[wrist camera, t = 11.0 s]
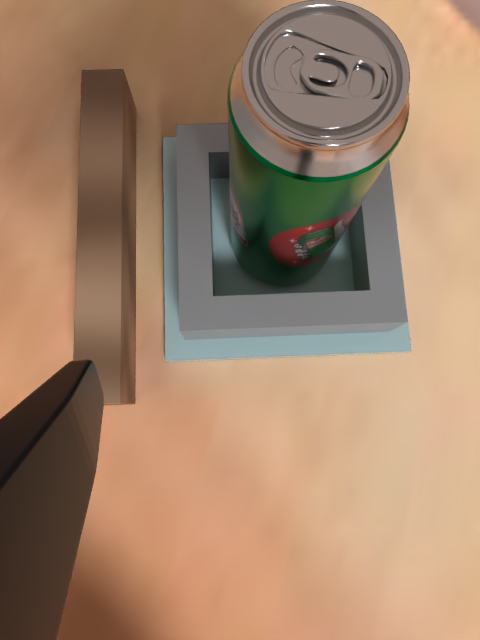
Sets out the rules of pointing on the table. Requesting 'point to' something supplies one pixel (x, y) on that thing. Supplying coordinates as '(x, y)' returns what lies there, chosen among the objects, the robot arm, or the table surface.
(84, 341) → the long brown rectangular bar
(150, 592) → the table surface
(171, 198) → the socket
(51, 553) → the robot arm
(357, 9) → the soda can
